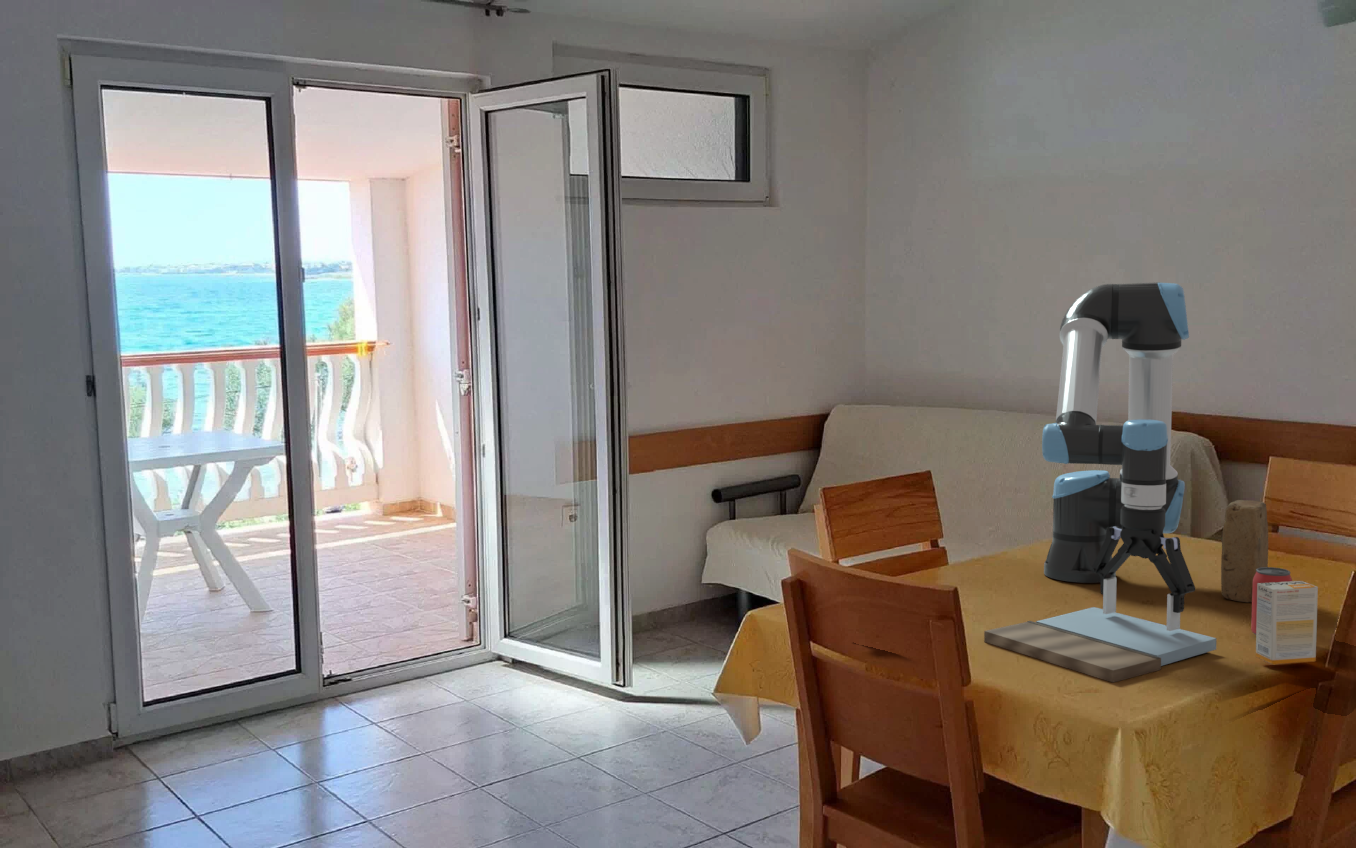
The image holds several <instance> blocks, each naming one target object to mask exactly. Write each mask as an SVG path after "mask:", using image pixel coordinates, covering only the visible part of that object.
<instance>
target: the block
mask: <svg viewBox="0 0 1356 848" xmlns="http://www.w3.org/2000/svg"><path fill="white" fill-rule="evenodd" d="M1224 511H1225V512H1224V522H1223V526H1222V527H1223V528H1222V540H1221V560H1220V561H1221V564H1220V565H1221V567H1220V570H1221V571H1220V573H1221V574H1220V584H1221V586H1220V587H1221V595H1222V597H1224V598H1225V599H1226V600H1231V601H1235V602H1241V603H1252V590H1253V578H1254V576H1255V574H1256V572H1257V571H1256V569H1258V568H1261V567H1268V565H1269V525H1268V512H1267V511H1268V509H1267V504H1266V503H1265V502H1264V501H1260V500H1243V499H1237V500H1234V501H1232V502H1230V503H1229V504H1228V505H1227V506H1226V508H1225V510H1224Z"/></svg>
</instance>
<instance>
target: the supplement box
mask: <svg viewBox="0 0 1356 848" xmlns="http://www.w3.org/2000/svg"><path fill="white" fill-rule="evenodd" d="M1318 589H1319V587H1318V586H1317V585H1314V584H1312V583H1308V582H1307V581H1306V582H1305V581H1303V580H1292V581H1289V582H1270V583H1257V622H1256V635H1255V636H1256V637H1255V639H1256V640H1255V657H1256V658H1258V659H1260V660H1262V661H1263V662H1266V663H1268V664H1270V665H1278V664H1279V665H1281V664H1292V663H1293V664H1294V663H1297V664H1298V663H1308V662H1311V663H1312V662H1313V663H1314V662H1316V661H1317V660H1316V659H1317V657H1316V656H1317V634H1318V632H1317V631H1318V630H1317V628H1318V627H1317V625H1318V597H1319V596H1318V593H1319V592H1318Z"/></svg>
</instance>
